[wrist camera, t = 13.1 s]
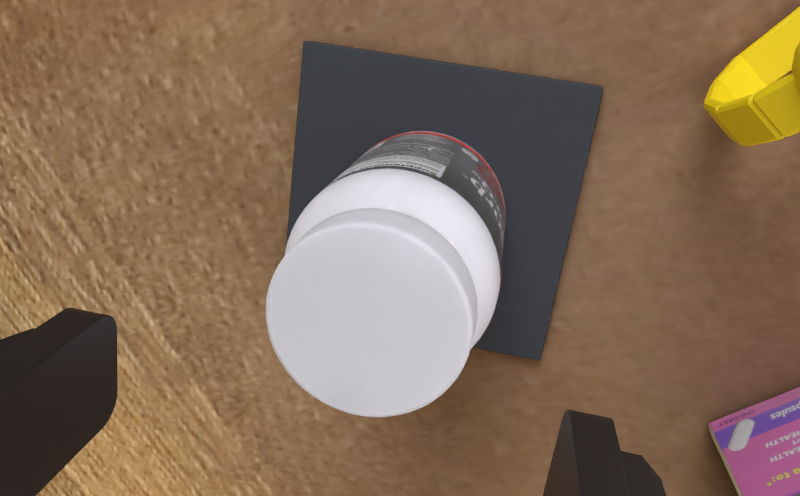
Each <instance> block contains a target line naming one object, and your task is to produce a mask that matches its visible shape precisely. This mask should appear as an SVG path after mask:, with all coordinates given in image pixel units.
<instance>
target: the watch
mask: <svg viewBox="0 0 800 496" xmlns="http://www.w3.org/2000/svg"><path fill="white" fill-rule="evenodd" d="M791 70H792V73H790V74H789V75H787V76H785V77H783V76H784V75H785V74H787V73H788V72H789V71H791ZM781 77H783V78H781ZM780 78H781V79H780ZM779 79H780V80H779ZM777 80H778V81H777ZM704 109H705V110H706V111H707V112H708V113H709V114H710V116H711V117H712V118H713V119H714V120H715V121H716V123H717V124H718V125H719V126H720V127H721V129H722V130H723V131H724V132H725V133H726V134H727V136H728V137H729V138H730V139H732V140H734V141H735V142H737V143H739V144H740V145H742V146H752V145H757V144H762V143H767V142H771V141H776V140H781V139H783V138H784V137H789V136H791V135H793V134H795V133H797V132H800V7H798V8H797V9H796V10H795V11H793V12H792V13H791V14H790V15H788V16H787V17H786V18H784V19H783V20H782V21H781V22H779V23H778V24H777V25H776V26H774V27H773V28H772V29H771V30H769V31H768V32H767V33H765V34H764V35H763V36H762V37H760V38H759V39H758V40H757V41H755V42H754V43H753V44H752V45H750V46H749V47H748V48H746V49H745V50H744V51H743V52H741V53H740V54H739V55H738V56H736V57H734V58H733V59H732V61H731V62H730V63H729V64H728V65H727V66H726V67H725V69H724V70H723V71H722V72H721V73H720V74H719V75H718V77H717V78H716V79H715V80H714V81H713V84H711V86H710V88H709V91H708V93H707V96H706V98H705V101H704Z"/></svg>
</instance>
